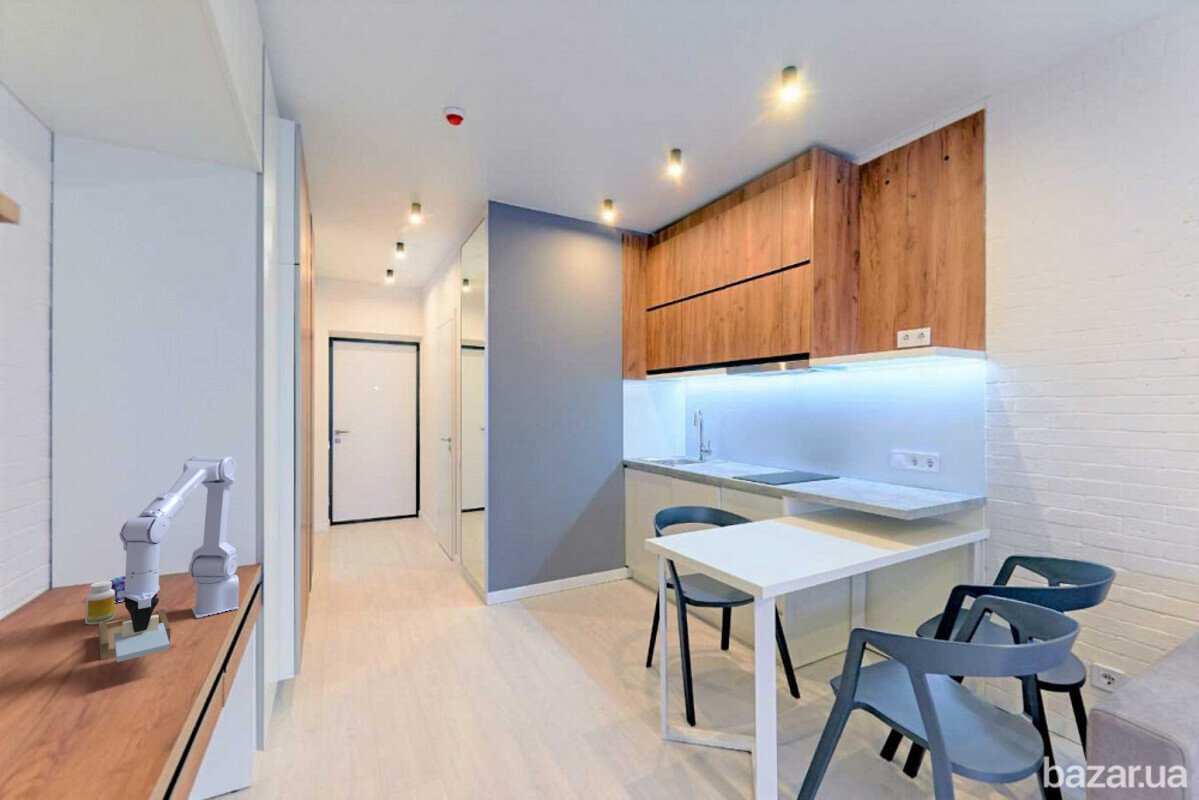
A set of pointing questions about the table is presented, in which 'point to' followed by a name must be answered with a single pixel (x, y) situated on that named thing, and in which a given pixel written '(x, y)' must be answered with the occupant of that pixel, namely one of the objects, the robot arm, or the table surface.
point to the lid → (140, 640)
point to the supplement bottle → (100, 603)
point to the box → (116, 626)
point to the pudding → (118, 587)
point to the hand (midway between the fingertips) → (140, 628)
